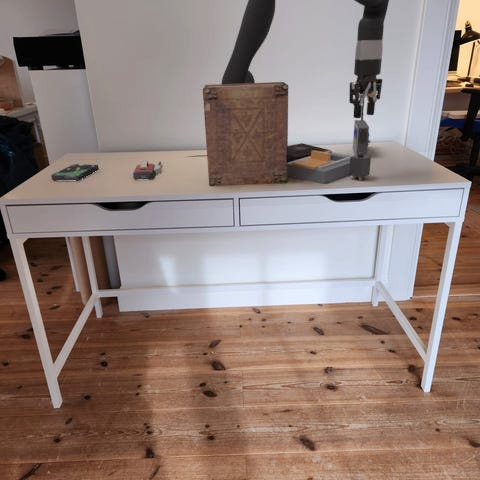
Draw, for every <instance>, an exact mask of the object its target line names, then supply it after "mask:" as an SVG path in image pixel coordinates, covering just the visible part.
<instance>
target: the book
mask: <svg viewBox="0 0 480 480" xmlns="http://www.w3.org/2000/svg"><path fill="white" fill-rule="evenodd" d="M202 97H203V98H202V99H203V110H204V111H203V114H204V126H205V127H204V128H205V140H206V141H205V143H206V144H205V145H206V156H207V159H206V160H207V173H208V186H210V187H221V186H222V187H223V186H224V187H225V186H240V185H241V186H245V185H247V186H248V185H264V184H269V185H271V184H286V183H287V182H288V175H287V149H288V146H289V145H288V143H289V142H288V140H289V137H288V136H289V135H288V134H289V128H288V127H289V84H287V83H286V82H284V81H276V82H275V81H273V82H272V81H271V82H270V81H269V82H255V83H242V84H222V83H219V84H218V83H217V84H216V83H214V84H205V85H204V87H203V88H202Z"/></svg>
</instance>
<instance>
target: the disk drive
mask: <svg viewBox="0 0 480 480" xmlns="http://www.w3.org/2000/svg"><path fill="white" fill-rule="evenodd" d="M97 170H100V169H99V164H82V165H80V164H79V163H78V164H77V163H75V164H71V165H70V166H68V167H65V168H63V169H61V170H59V171H57V172H55V173H52V174H51V175H50V176H51V180H76V181H78V180H80V179H82V178H84V177H86V176H88V175H90V174H92V173H93V172H95V171H97ZM97 172H98V171H97ZM95 173H96V172H95ZM93 174H94V173H93ZM93 174H92V175H93ZM90 176H91V175H90ZM88 177H89V176H88ZM86 178H87V177H86ZM84 179H85V178H84Z"/></svg>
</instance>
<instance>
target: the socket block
mask: <svg viewBox="0 0 480 480" xmlns="http://www.w3.org/2000/svg"><path fill="white" fill-rule="evenodd" d="M328 150H329V151H326V153H330V161H331V163H328V164H325V165H322V166H319V167H317V169H315V170H313V169H309V168H304V167H299V166H295V165H293V162H296V161H300V160H303V159H307V158H311V156H309V157H305V158H302V159H299V160H295V161H292V162H288V163H287V177H288V176H289V177H293V178H298V179H302V180H306V181H309V182H314V183H318V184H323V185H324V183H325V184H327V182H328V183H330V182H333V181H337V180H338V179H342V178H344V177H346V176H350V175H349V168H350V157H352V156H355V154H354V155H348V154H342V153H336V152H333V150H331V149H328ZM330 150H331V151H330Z"/></svg>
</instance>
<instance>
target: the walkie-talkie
mask: <svg viewBox="0 0 480 480" xmlns="http://www.w3.org/2000/svg"><path fill="white" fill-rule="evenodd" d="M161 172H162V161H159V162H158V164H157V165H156V164H154V163H149V161H147V160H146V161H141V162H140V164H138V165H136V167H135V169H134V171H133V173H132V175H133V180H134V179H135V180H134V181H138V180H137V179H149V180H153V179H154V176H158V175H160V174H161ZM159 173H160V174H159Z"/></svg>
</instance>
